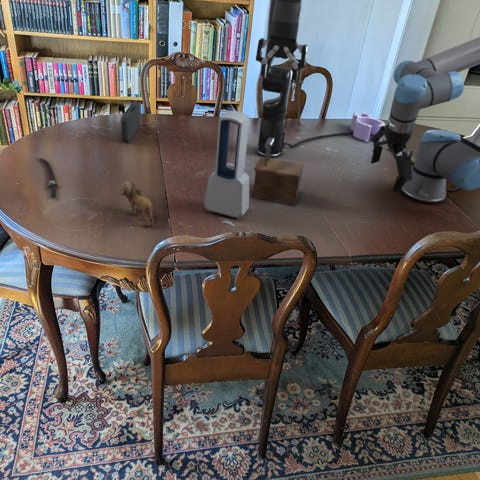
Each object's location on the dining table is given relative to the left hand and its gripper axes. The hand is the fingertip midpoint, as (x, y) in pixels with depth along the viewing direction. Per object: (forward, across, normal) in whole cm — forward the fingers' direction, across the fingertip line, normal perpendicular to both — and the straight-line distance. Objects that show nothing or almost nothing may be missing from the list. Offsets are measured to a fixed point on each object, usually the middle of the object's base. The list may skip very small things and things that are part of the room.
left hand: (278, 79), depth 137 cm
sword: (+37, -68, -20) cm, 80 cm away
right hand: (+27, +38, +9) cm, 48 cm away
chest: (+37, +4, 0) cm, 37 cm away
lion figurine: (+37, -31, -31) cm, 57 cm away
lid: (+27, +4, 0) cm, 28 cm away
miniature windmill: (+37, -2, +71) cm, 80 cm away
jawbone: (+37, +52, +59) cm, 87 cm away
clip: (+37, +32, +78) cm, 92 cm away
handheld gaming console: (+37, -62, +29) cm, 77 cm away
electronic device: (+37, -8, -18) cm, 42 cm away
